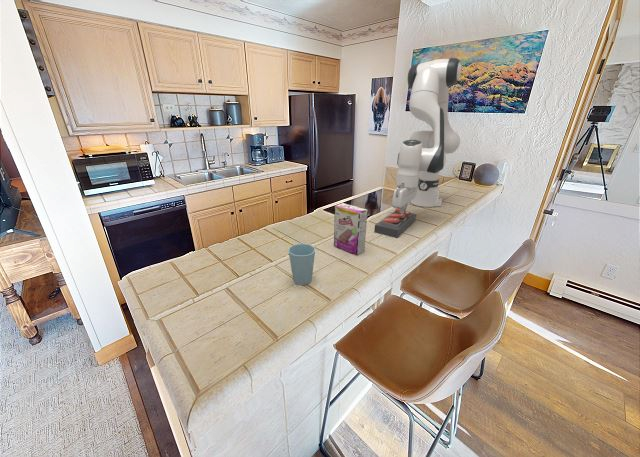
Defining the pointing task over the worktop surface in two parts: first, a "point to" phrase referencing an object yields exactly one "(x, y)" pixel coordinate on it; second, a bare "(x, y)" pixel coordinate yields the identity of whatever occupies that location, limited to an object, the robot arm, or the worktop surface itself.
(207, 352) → the worktop surface
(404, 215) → the rocker
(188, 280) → the worktop surface
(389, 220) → the rocker
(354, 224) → the candy bar box
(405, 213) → the rocker
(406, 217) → the rocker switch panel
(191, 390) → the worktop surface
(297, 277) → the cup
